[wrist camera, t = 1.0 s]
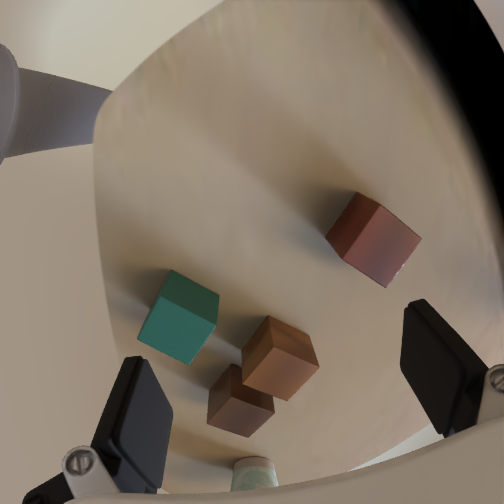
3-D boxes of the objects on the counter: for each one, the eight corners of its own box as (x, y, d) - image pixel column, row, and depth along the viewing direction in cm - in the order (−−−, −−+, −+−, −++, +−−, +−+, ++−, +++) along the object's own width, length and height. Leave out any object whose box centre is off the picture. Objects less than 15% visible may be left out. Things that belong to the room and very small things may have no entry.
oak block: (241, 350, 32) (241, 384, 27) (268, 315, 30) (273, 346, 26) (281, 368, 33) (287, 401, 28) (309, 335, 31) (320, 367, 27)
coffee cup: (291, 455, 39) (301, 524, 28) (269, 480, 42) (275, 541, 31) (234, 447, 38) (235, 521, 27) (218, 473, 41) (216, 538, 29)
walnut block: (208, 390, 34) (206, 423, 29) (231, 363, 32) (230, 396, 28) (246, 405, 35) (248, 438, 30) (270, 380, 33) (275, 413, 29)
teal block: (149, 309, 30) (136, 339, 25) (171, 269, 28) (159, 295, 24) (195, 333, 31) (189, 365, 26) (219, 295, 29) (217, 325, 25)
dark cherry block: (324, 238, 28) (341, 259, 23) (356, 191, 26) (380, 203, 22) (365, 264, 29) (386, 289, 24) (395, 221, 28) (422, 239, 23)
